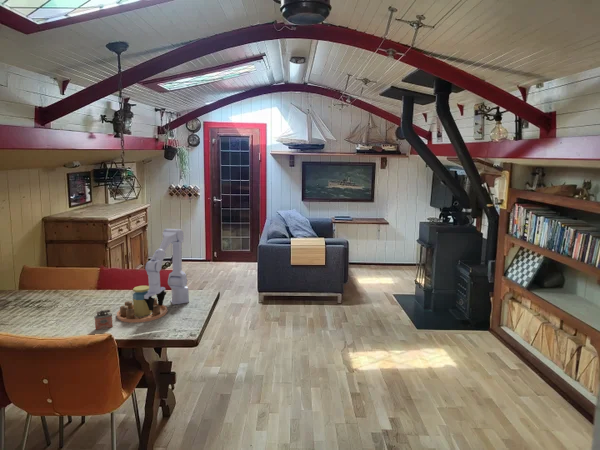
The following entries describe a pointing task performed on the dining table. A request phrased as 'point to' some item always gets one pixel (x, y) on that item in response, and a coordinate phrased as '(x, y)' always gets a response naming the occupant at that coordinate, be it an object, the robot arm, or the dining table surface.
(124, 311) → the seated bead
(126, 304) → the seated bead
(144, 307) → the jar
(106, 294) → the dining table surface
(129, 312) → the seated bead
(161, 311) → the dish
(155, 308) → the bead
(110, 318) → the lighter
